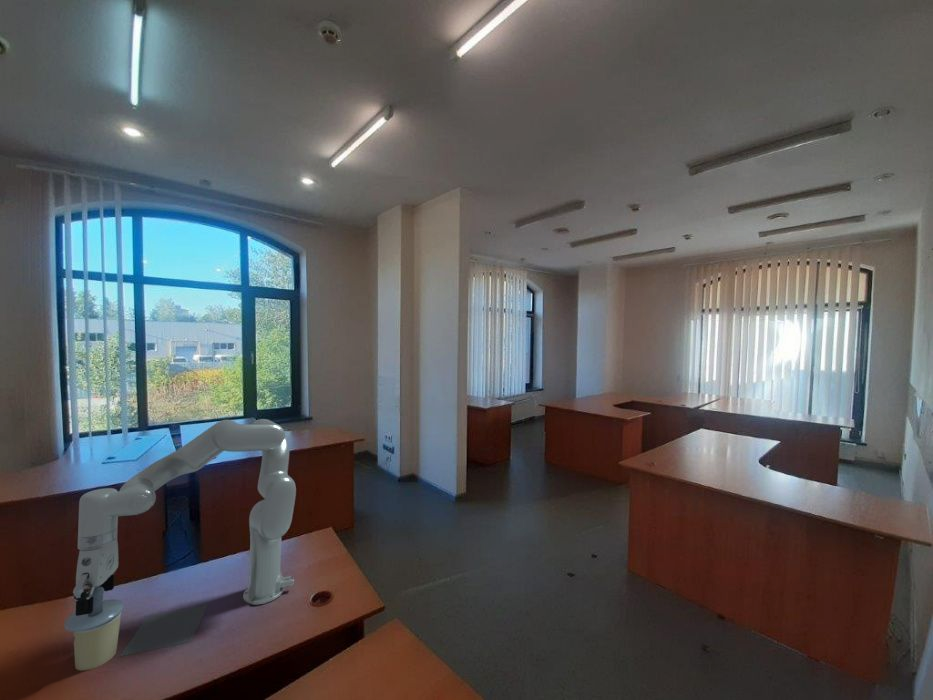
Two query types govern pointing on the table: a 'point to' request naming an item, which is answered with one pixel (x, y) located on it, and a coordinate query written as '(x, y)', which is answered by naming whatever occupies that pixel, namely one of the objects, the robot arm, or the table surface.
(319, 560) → the table surface
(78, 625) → the lid
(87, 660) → the coffee cup
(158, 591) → the table surface
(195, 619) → the mat
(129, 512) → the robot arm
